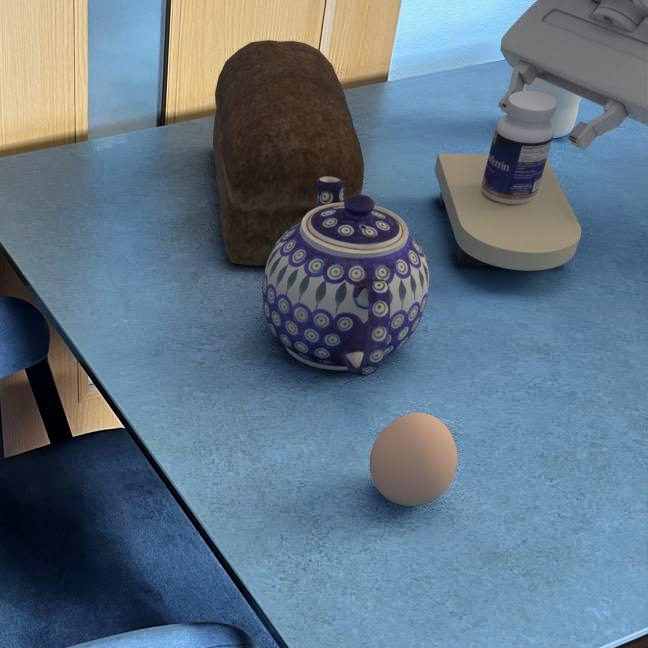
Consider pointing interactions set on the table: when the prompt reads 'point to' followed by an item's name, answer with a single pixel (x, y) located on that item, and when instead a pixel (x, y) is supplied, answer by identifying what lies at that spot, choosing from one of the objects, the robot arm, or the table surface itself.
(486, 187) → the pill bottle
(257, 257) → the bread
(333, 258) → the teapot
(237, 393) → the table surface
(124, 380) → the table surface
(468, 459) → the table surface
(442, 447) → the egg
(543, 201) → the beige rounded board
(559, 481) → the table surface
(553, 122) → the water bottle
